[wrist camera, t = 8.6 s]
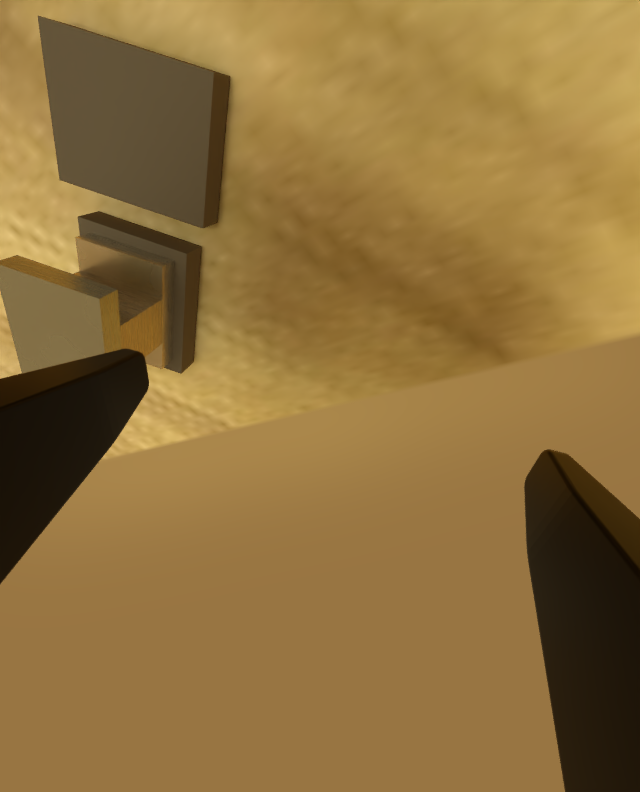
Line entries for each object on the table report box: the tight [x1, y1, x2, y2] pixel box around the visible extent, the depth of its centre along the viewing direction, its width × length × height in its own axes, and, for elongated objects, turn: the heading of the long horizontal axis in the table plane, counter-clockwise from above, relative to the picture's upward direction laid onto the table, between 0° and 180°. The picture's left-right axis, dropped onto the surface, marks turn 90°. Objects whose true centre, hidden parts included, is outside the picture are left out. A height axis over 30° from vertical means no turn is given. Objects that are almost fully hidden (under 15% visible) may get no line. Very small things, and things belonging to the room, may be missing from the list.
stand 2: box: [78, 211, 201, 373], centre depth 22 cm, size 7×6×2 cm
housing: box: [0, 233, 174, 373], centre depth 19 cm, size 4×6×6 cm
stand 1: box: [38, 16, 230, 228], centre depth 17 cm, size 6×7×2 cm
